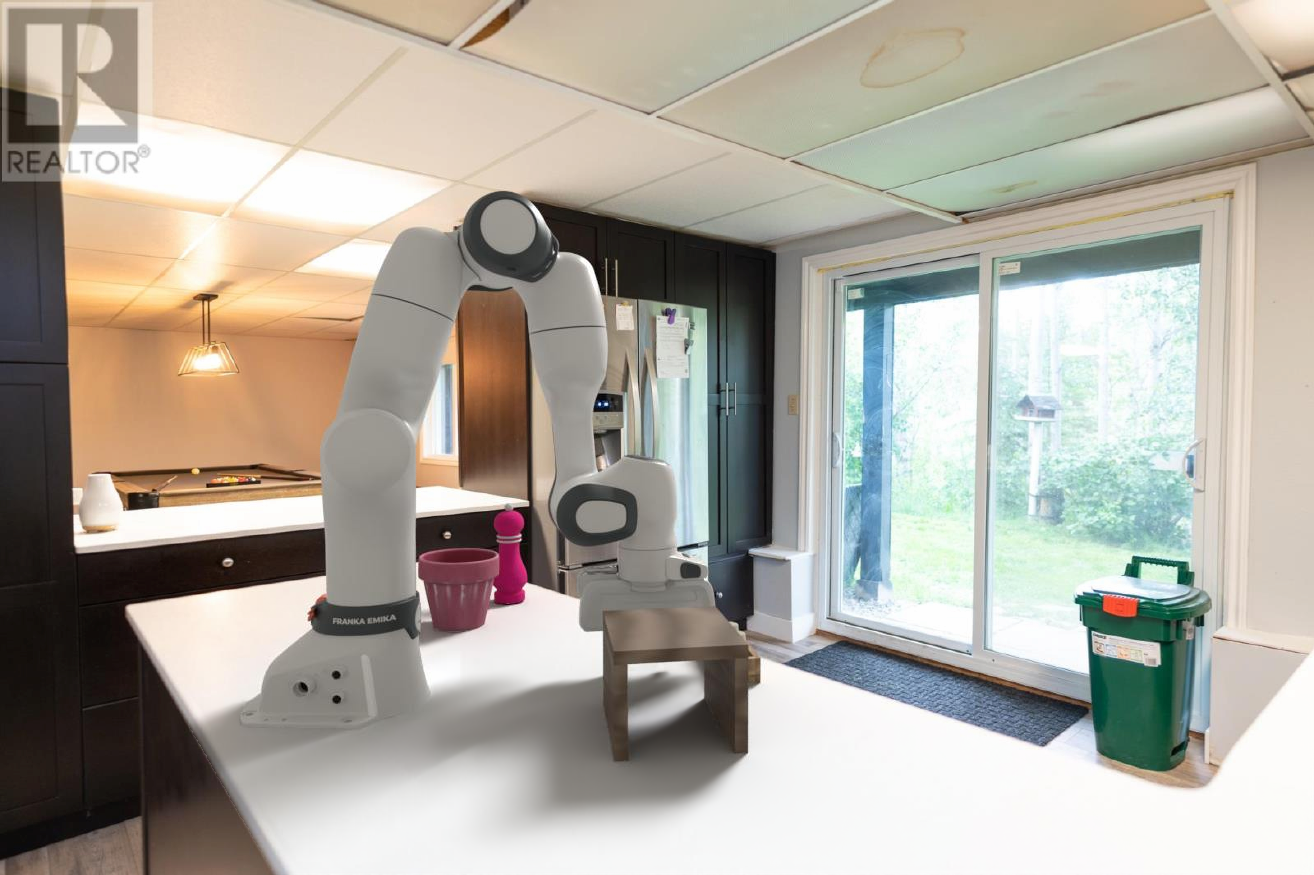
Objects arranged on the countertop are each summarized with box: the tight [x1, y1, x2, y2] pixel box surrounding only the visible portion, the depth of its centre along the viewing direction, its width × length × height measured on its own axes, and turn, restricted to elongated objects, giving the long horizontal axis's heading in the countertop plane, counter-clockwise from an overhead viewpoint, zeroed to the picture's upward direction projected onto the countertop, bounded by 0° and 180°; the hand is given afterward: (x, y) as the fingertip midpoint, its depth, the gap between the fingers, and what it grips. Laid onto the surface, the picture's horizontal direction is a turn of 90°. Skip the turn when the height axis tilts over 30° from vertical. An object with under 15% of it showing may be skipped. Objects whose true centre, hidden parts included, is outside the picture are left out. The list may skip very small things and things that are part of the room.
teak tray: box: [729, 621, 762, 684], centre depth 109 cm, size 6×18×6 cm, turn 7°
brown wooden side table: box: [602, 605, 749, 763], centre depth 86 cm, size 15×16×12 cm
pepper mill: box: [493, 502, 528, 605], centre depth 146 cm, size 7×7×20 cm
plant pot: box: [417, 547, 499, 632], centre depth 129 cm, size 14×14×13 cm
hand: (647, 657), depth 105 cm, fingers open, 6 cm apart
